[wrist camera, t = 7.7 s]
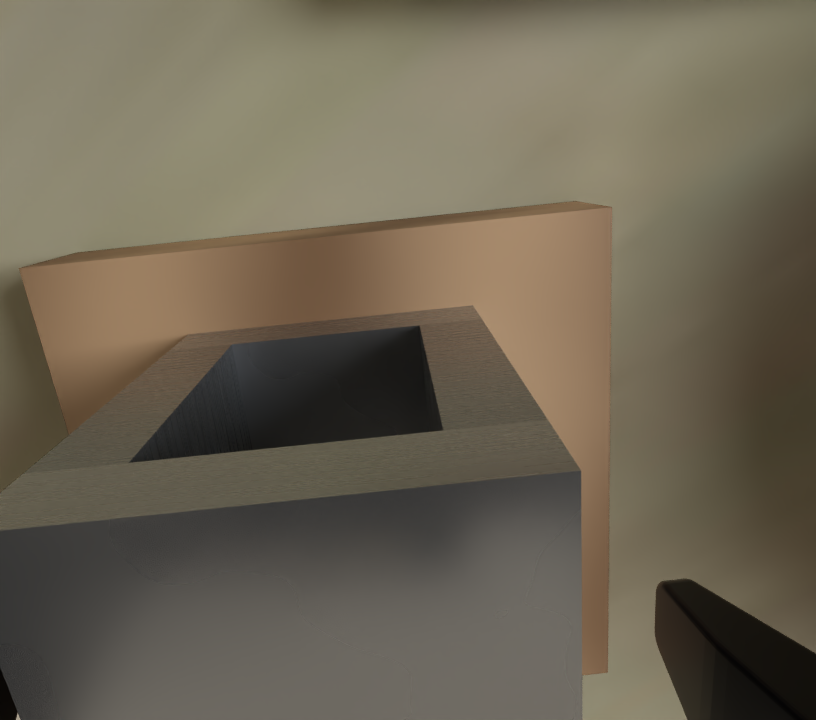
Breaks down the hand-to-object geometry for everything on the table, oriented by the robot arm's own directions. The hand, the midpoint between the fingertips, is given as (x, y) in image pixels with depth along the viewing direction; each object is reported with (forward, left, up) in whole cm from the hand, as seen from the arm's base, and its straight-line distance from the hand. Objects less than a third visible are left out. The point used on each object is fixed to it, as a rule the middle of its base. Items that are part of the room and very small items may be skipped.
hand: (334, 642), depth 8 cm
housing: (0, 0, -4) cm, 4 cm away
